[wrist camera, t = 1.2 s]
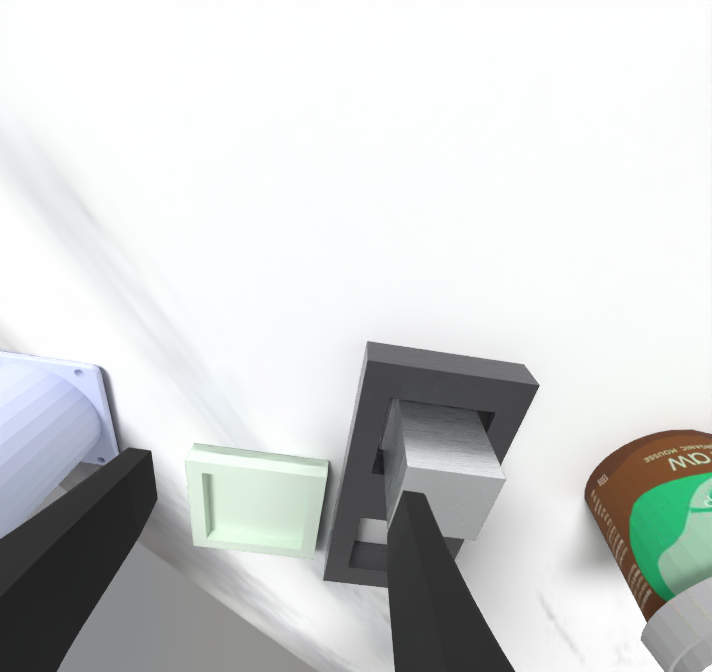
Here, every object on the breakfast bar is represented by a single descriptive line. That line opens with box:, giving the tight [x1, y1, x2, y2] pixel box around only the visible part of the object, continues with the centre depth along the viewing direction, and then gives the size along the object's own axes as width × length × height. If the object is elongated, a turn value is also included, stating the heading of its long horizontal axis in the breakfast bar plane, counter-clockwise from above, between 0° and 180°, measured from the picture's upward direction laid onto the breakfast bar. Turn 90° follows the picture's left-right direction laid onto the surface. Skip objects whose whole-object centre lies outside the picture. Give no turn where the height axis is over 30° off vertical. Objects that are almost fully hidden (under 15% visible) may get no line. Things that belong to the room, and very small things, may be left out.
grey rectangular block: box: [382, 398, 506, 540], centre depth 19 cm, size 4×4×6 cm
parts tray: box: [185, 443, 329, 559], centre depth 25 cm, size 9×9×1 cm
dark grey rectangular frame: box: [323, 341, 540, 588], centre depth 23 cm, size 9×20×2 cm, turn 171°
